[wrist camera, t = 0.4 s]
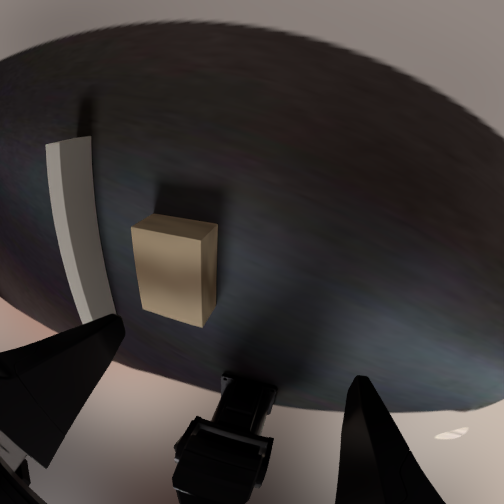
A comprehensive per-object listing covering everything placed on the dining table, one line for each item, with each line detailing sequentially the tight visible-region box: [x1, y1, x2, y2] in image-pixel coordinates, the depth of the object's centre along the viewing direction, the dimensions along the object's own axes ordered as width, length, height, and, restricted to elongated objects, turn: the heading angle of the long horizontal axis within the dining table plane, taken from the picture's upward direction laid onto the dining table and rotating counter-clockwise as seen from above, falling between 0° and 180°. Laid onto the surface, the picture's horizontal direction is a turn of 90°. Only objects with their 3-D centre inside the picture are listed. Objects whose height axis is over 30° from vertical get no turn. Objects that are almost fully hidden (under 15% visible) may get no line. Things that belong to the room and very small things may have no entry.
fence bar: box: [46, 136, 117, 324], centre depth 24 cm, size 22×2×4 cm, turn 176°
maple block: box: [131, 213, 218, 328], centre depth 22 cm, size 8×6×4 cm
